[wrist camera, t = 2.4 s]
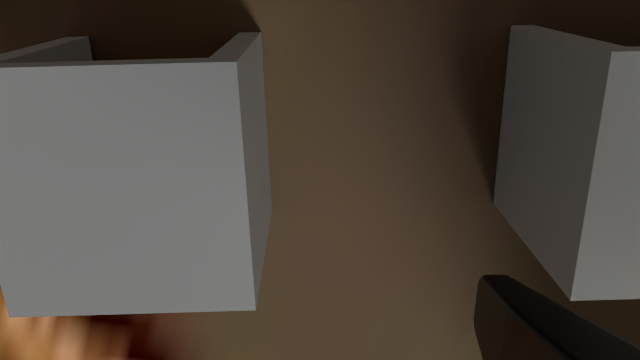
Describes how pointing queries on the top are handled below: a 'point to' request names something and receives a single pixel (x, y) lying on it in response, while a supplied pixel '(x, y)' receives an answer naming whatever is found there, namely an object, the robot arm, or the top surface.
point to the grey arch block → (132, 180)
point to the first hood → (573, 159)
